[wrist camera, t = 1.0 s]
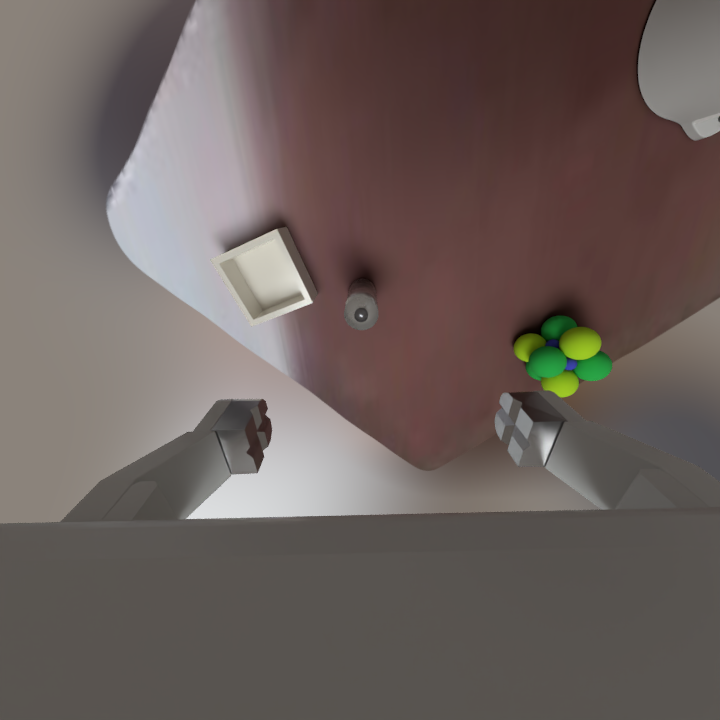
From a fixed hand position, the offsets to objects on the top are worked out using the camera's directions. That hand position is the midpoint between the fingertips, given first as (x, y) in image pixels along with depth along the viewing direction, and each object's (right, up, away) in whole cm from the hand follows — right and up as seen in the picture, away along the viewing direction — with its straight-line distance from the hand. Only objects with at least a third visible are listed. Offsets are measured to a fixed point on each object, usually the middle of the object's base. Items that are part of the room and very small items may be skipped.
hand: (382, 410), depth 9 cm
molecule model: (+28, +5, +34) cm, 45 cm away
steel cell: (0, +12, +31) cm, 33 cm away
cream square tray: (-13, +14, +30) cm, 35 cm away
